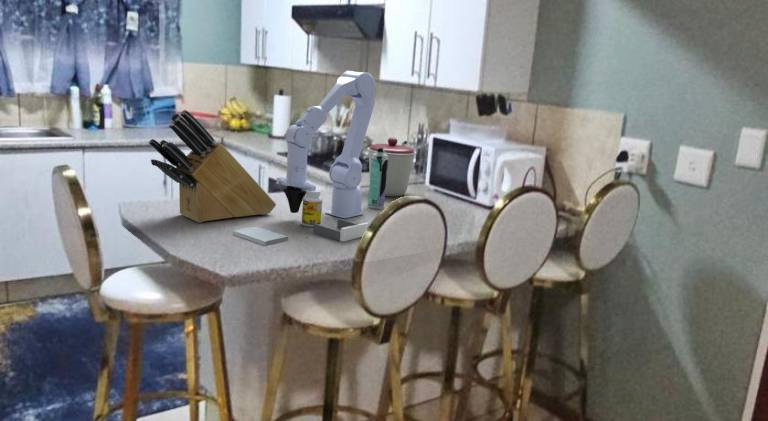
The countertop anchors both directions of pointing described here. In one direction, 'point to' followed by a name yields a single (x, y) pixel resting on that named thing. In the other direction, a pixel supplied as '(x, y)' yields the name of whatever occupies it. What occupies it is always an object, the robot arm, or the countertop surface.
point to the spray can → (378, 179)
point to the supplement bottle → (311, 208)
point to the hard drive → (260, 235)
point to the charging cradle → (342, 230)
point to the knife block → (209, 175)
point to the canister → (395, 166)
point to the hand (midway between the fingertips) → (294, 212)
